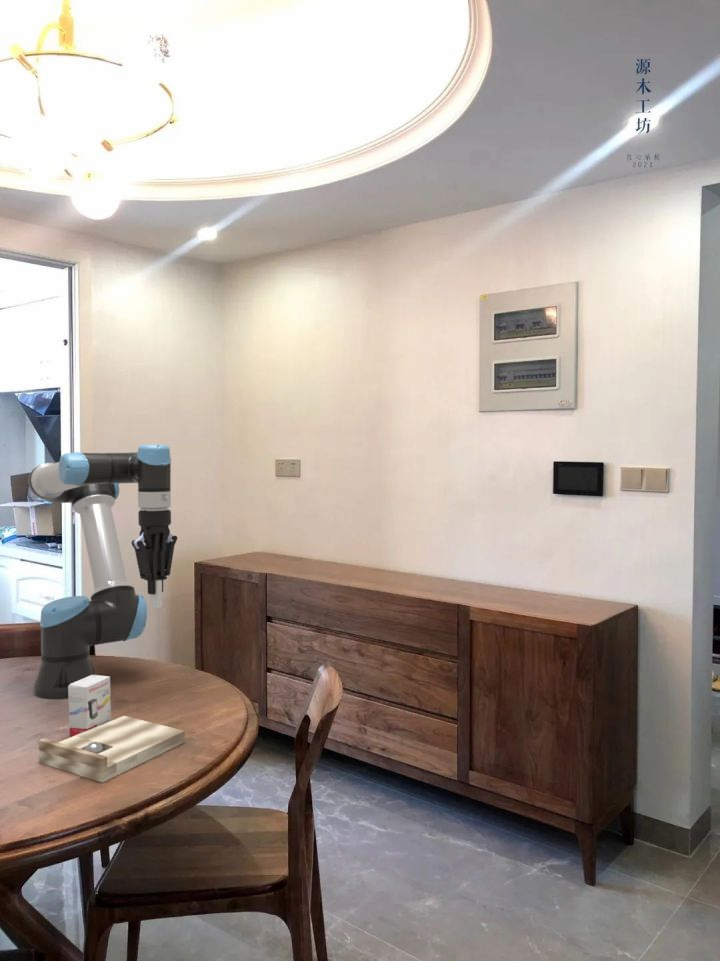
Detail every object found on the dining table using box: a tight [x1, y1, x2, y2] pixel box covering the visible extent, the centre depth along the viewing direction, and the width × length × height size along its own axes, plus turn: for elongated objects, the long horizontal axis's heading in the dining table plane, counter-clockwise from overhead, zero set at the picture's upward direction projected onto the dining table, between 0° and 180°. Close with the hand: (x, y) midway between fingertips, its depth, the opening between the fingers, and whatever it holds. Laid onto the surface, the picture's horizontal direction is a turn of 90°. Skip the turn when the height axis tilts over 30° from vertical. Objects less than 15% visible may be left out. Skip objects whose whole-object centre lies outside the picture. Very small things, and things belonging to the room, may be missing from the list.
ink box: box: [68, 674, 112, 738], centre depth 162 cm, size 9×5×12 cm, turn 162°
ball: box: [85, 742, 103, 754], centre depth 148 cm, size 4×4×4 cm
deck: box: [38, 715, 186, 783], centre depth 152 cm, size 18×22×4 cm
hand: (155, 606), depth 178 cm, fingers closed
